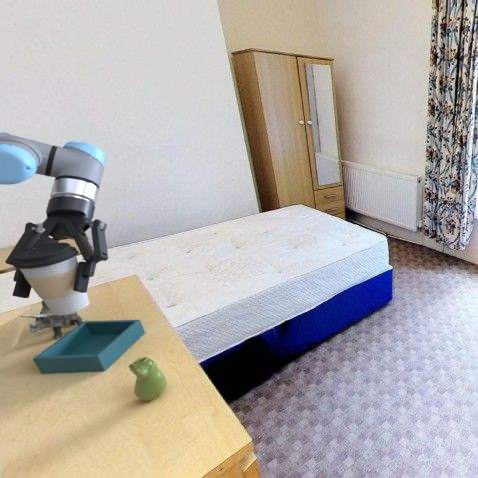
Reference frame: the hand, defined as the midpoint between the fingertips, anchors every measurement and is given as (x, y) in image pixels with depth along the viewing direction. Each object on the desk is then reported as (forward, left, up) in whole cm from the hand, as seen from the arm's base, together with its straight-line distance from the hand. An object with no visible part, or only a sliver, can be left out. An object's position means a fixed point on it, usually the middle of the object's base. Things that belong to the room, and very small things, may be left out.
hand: (50, 294), depth 69 cm
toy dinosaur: (-17, +15, -21) cm, 31 cm away
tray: (-1, +5, -20) cm, 21 cm away
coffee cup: (-1, +3, -6) cm, 7 cm away
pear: (+21, -10, -21) cm, 31 cm away
